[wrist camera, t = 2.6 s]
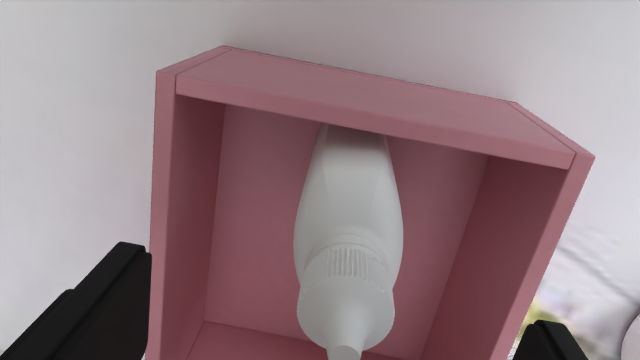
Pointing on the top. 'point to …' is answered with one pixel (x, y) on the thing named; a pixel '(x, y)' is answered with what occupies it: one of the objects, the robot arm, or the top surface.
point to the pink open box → (285, 192)
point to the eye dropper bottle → (348, 242)
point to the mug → (632, 342)
